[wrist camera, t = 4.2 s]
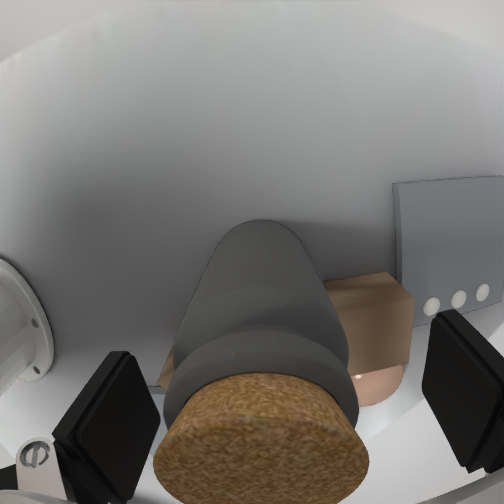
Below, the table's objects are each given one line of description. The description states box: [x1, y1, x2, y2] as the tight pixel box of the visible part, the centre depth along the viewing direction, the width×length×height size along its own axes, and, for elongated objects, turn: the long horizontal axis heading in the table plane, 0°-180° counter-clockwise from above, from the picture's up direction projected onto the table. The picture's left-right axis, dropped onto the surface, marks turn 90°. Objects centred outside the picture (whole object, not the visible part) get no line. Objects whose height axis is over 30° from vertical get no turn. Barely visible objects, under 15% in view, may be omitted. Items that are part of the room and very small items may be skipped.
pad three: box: [392, 176, 504, 328], centre depth 18 cm, size 10×10×1 cm
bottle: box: [153, 220, 369, 504], centre depth 12 cm, size 6×6×15 cm
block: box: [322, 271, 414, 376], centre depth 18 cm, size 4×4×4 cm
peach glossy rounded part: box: [350, 365, 403, 406], centre depth 21 cm, size 5×5×2 cm
